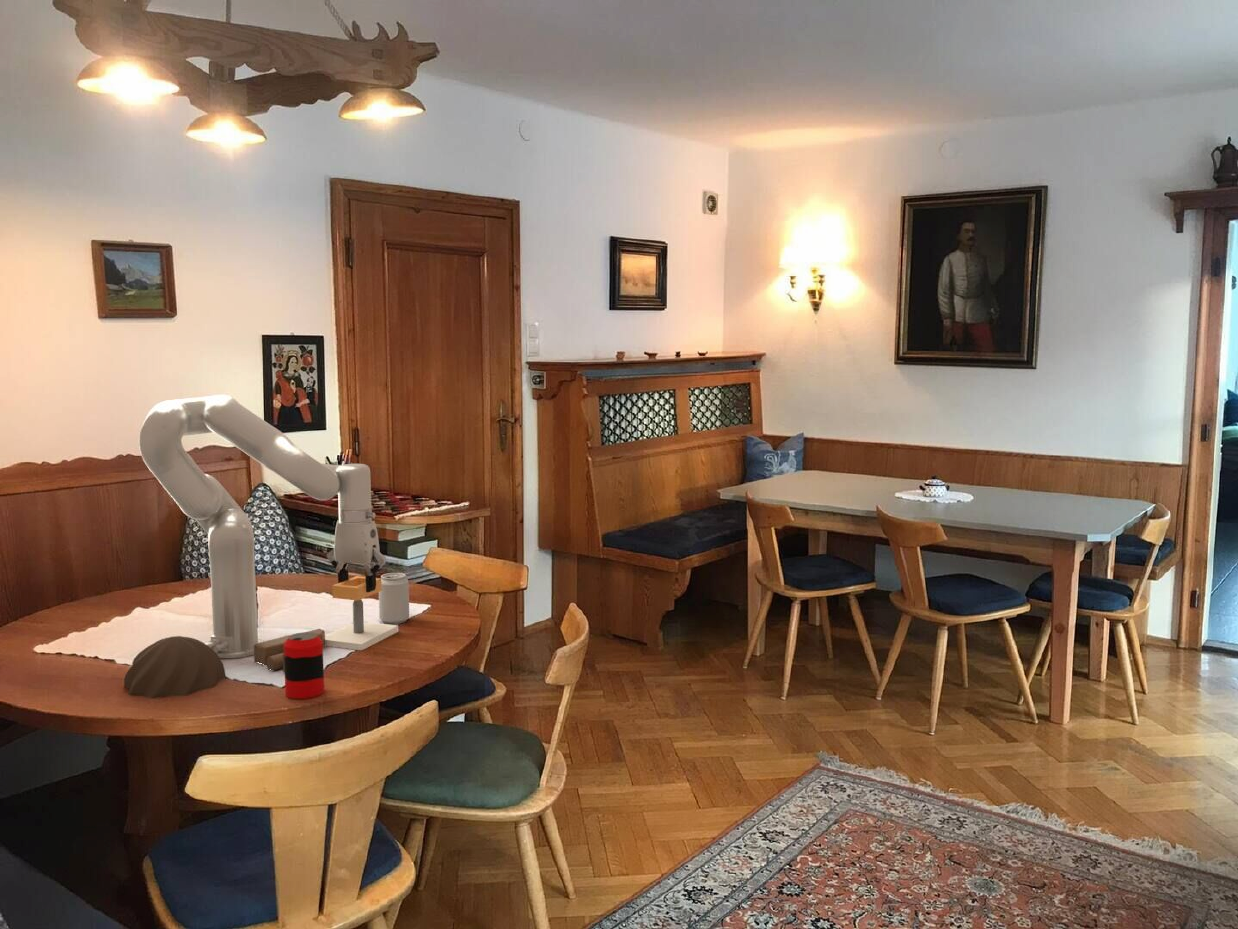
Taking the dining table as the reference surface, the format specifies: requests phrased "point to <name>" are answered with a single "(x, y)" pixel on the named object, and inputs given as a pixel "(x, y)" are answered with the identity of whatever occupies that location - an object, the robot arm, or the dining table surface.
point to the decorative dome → (174, 668)
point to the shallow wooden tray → (354, 589)
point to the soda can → (303, 666)
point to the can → (394, 598)
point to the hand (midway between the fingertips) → (357, 588)
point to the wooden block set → (276, 651)
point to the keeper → (359, 632)
